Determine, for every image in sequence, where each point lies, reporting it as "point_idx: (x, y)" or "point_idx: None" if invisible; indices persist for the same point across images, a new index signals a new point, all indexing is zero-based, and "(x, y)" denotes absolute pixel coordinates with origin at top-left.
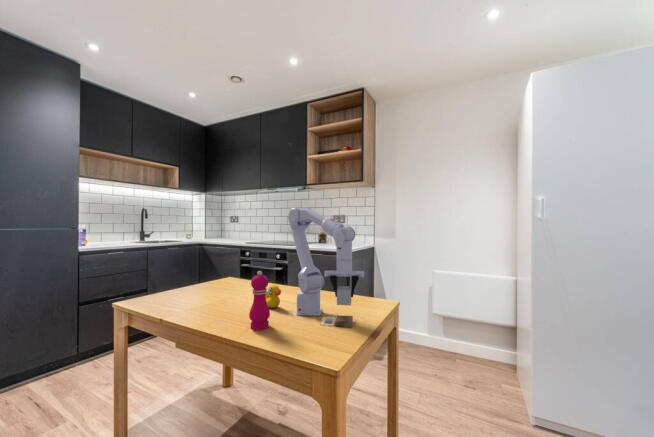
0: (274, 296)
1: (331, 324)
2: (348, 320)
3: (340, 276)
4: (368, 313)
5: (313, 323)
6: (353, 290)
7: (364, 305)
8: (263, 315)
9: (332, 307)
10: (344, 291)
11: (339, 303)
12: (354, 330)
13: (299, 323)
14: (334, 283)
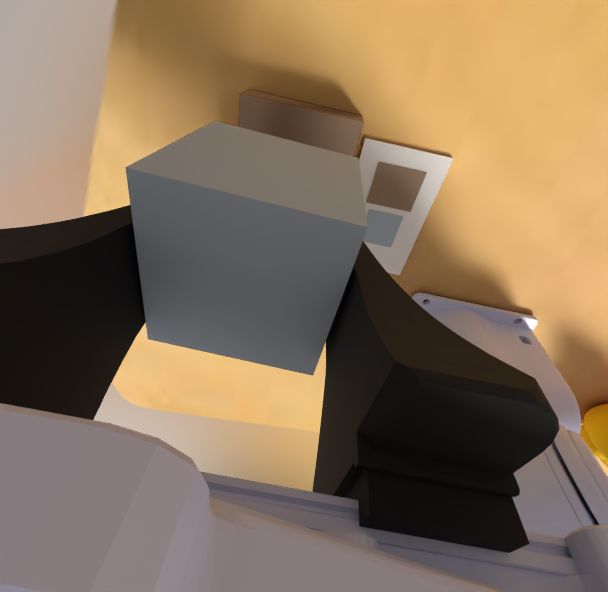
0: None
1: (383, 149)
2: (267, 122)
3: (259, 484)
4: None
5: (488, 191)
6: (107, 215)
7: (180, 375)
8: None
9: (324, 376)
10: (245, 183)
11: (330, 156)
12: (239, 18)
13: (578, 202)
14: (414, 326)
